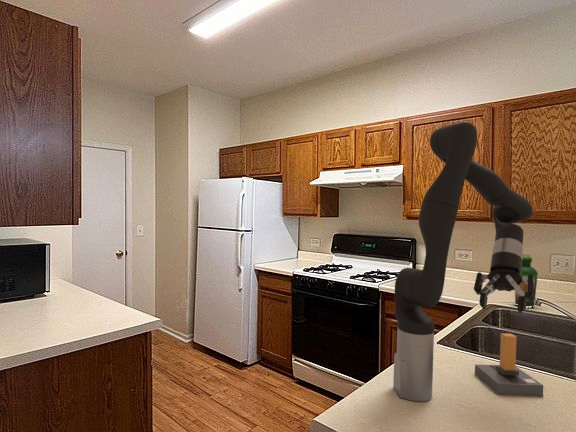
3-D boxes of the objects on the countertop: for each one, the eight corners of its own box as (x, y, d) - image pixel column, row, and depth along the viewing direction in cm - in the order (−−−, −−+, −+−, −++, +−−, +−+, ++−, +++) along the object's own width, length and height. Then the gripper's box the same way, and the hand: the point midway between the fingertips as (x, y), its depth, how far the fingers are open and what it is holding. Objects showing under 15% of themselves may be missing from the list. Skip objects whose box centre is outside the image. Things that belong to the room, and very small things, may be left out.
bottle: (509, 303, 201) (511, 252, 200) (531, 304, 199) (533, 253, 198) (517, 308, 190) (519, 255, 190) (540, 309, 188) (542, 256, 188)
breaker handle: (503, 375, 102) (504, 336, 102) (495, 369, 105) (497, 332, 105) (518, 375, 102) (520, 337, 102) (511, 369, 105) (512, 333, 105)
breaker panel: (498, 394, 97) (498, 383, 97) (474, 373, 110) (475, 364, 110) (543, 396, 97) (543, 384, 97) (514, 375, 110) (514, 365, 110)
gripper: (476, 250, 107) (468, 300, 99) (533, 250, 97) (529, 306, 89) (483, 263, 111) (476, 312, 103) (539, 265, 101) (536, 319, 93)
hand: (501, 309), depth 96 cm, fingers open, 8 cm apart
